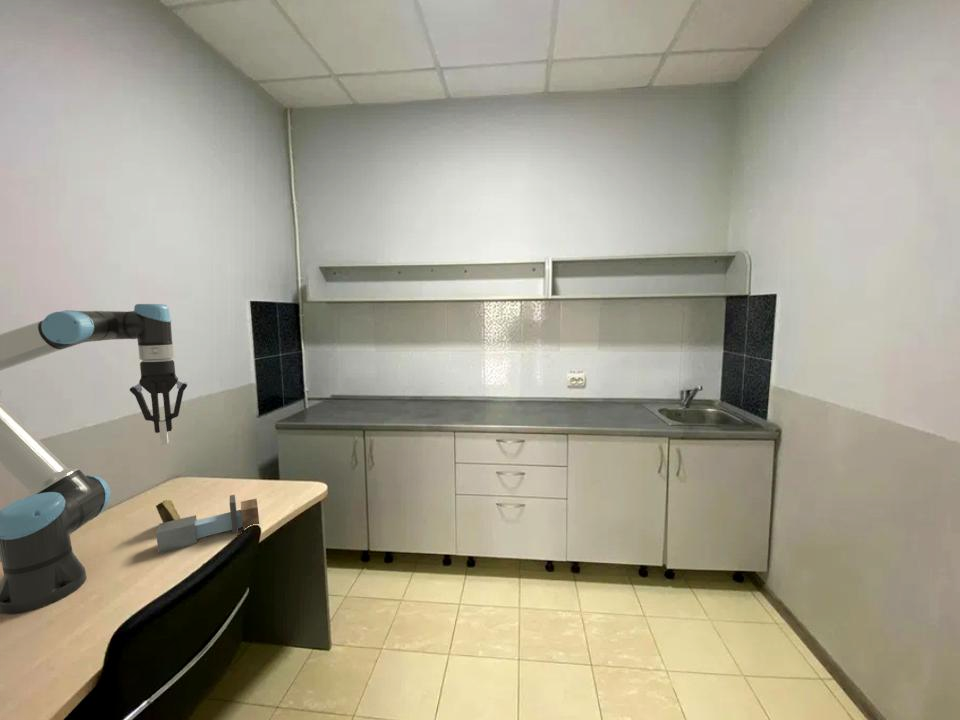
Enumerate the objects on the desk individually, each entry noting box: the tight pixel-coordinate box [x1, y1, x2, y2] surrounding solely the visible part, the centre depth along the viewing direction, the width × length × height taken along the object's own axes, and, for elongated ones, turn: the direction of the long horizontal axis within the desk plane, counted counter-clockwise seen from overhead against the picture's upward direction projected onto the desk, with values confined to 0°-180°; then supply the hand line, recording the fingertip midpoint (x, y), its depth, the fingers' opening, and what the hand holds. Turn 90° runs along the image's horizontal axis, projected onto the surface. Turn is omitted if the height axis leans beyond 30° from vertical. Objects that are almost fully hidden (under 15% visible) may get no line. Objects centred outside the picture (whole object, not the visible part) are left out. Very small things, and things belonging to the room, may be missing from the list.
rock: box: [155, 499, 181, 523], centre depth 133 cm, size 11×9×10 cm
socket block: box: [240, 497, 260, 531], centre depth 132 cm, size 4×7×7 cm, turn 31°
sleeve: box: [155, 514, 199, 555], centre depth 122 cm, size 9×6×6 cm
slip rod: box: [195, 494, 243, 539], centre depth 127 cm, size 18×6×10 cm, turn 121°
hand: (164, 442), depth 117 cm, fingers closed
